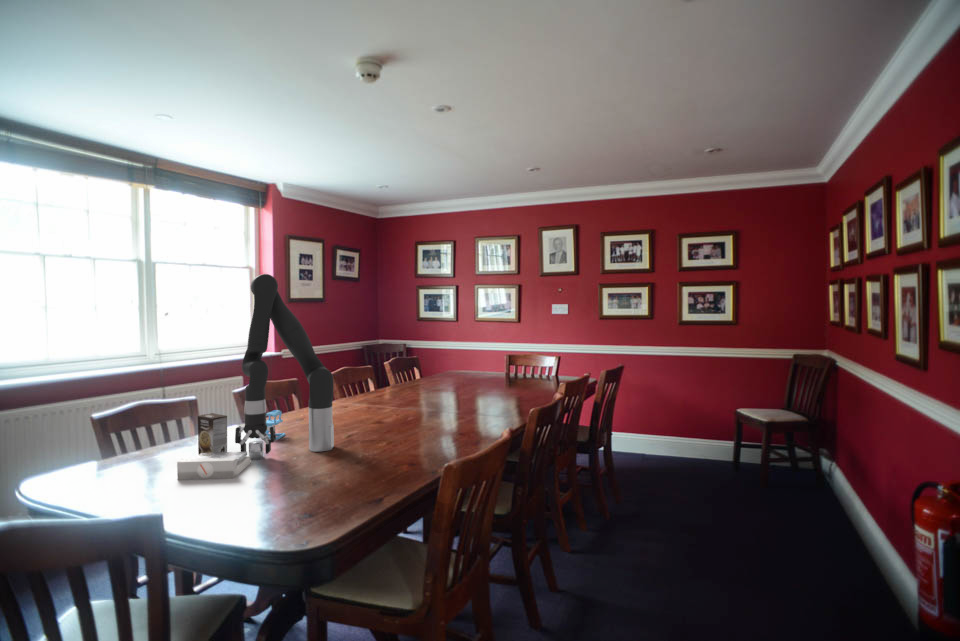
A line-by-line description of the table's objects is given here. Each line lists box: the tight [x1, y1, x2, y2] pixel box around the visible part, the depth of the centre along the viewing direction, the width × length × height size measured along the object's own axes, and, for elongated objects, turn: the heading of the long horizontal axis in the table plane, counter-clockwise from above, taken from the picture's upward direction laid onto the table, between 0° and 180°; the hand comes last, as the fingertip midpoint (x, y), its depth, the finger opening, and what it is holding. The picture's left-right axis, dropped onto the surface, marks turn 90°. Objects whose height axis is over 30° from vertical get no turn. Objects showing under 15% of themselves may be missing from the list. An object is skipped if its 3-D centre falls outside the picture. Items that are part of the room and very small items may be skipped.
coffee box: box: [197, 412, 228, 455], centre depth 191 cm, size 9×6×16 cm
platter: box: [192, 451, 248, 463], centre depth 177 cm, size 16×11×1 cm
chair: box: [265, 409, 286, 441], centre depth 220 cm, size 8×8×12 cm
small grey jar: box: [248, 440, 264, 461], centre depth 190 cm, size 5×5×6 cm
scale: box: [176, 455, 252, 481], centre depth 175 cm, size 18×16×6 cm
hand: (255, 453), depth 190 cm, fingers open, 8 cm apart
